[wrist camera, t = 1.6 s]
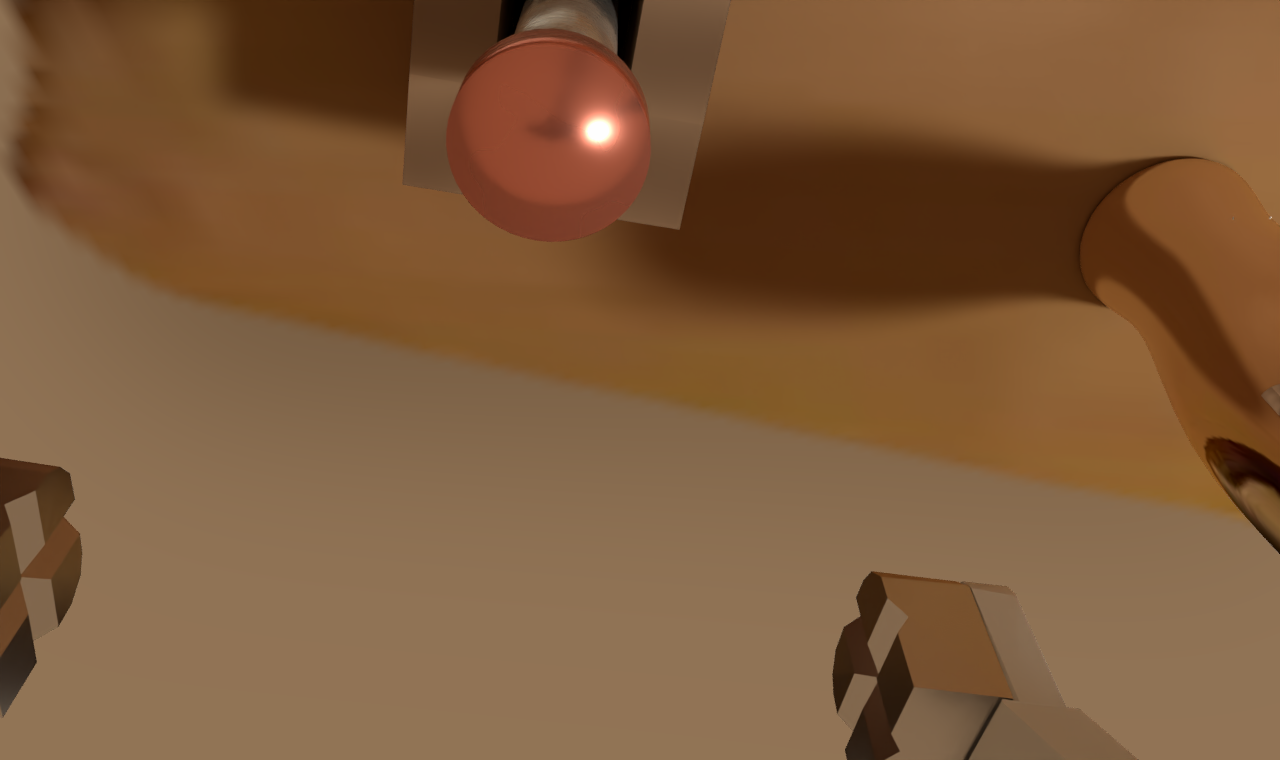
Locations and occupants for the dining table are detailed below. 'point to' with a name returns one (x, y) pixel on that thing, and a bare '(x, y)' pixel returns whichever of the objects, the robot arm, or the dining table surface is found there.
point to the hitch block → (654, 51)
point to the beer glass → (1202, 314)
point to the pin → (551, 125)
